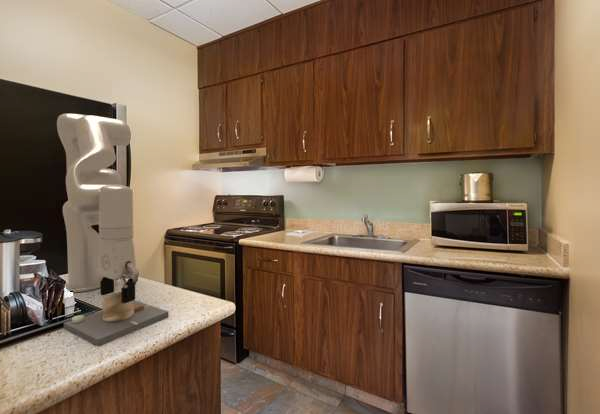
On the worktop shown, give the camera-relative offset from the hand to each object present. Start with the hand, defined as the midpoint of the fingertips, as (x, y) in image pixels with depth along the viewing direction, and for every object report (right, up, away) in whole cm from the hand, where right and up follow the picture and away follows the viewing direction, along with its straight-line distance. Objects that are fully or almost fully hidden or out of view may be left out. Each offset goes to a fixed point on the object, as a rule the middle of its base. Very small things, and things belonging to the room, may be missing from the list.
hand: (117, 297), depth 78 cm
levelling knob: (+1, -5, +1) cm, 5 cm away
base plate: (0, -7, 0) cm, 7 cm away
